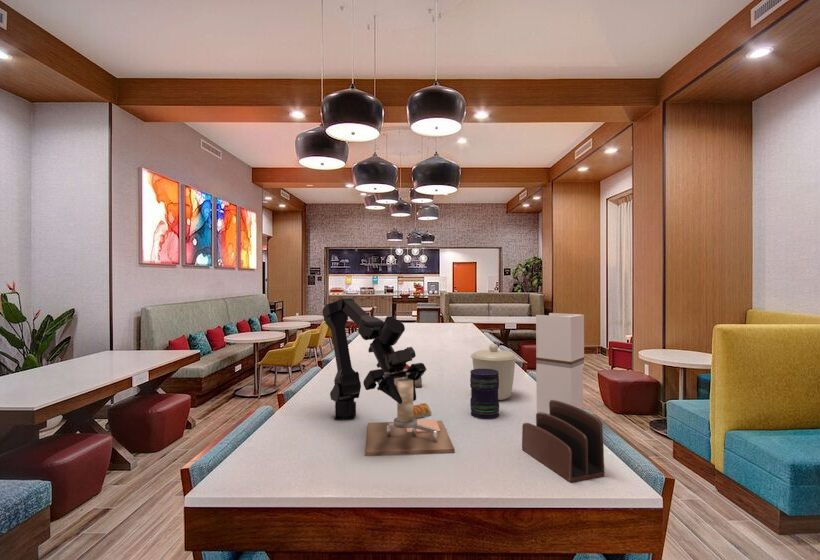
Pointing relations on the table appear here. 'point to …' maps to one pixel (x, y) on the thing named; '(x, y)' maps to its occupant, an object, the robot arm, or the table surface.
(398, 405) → the peg
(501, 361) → the canister
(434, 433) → the bent metal bar
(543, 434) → the letter holder
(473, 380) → the storage jar
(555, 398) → the grooved white pillar
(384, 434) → the board
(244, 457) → the table surface
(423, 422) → the pad
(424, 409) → the pastry
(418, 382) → the food item
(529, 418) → the table surface
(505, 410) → the table surface
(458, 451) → the table surface
